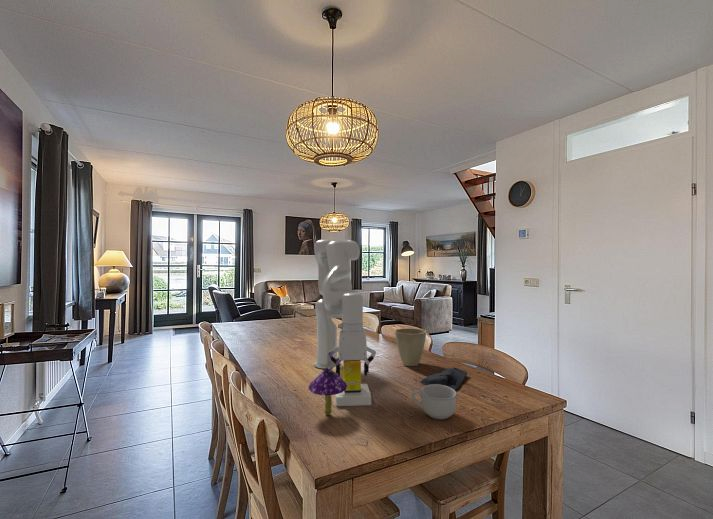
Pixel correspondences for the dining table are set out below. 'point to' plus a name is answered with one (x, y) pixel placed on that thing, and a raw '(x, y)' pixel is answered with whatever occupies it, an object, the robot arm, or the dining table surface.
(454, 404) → the teacup
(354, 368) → the supplement box
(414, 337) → the plant pot
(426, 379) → the dark slate chunk
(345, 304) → the robot arm
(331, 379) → the decorative mushroom
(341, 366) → the onion
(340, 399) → the blank white picture frame
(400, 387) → the dining table surface
